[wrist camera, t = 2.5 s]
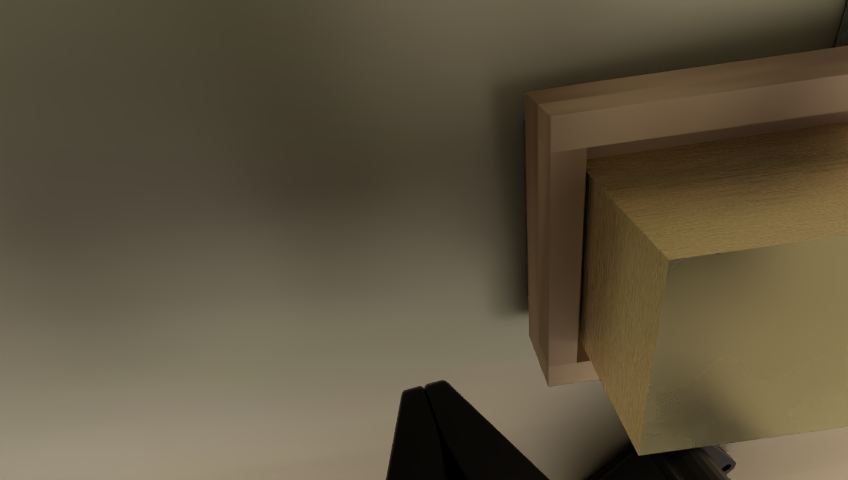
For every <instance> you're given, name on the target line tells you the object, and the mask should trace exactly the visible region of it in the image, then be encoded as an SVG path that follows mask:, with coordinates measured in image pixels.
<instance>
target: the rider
mask: <svg viewBox="0 0 848 480" xmlns="http://www.w3.org/2000/svg"><path fill="white" fill-rule="evenodd" d="M578 337H579V339H580V341H581V343H582V345H583V347H584V349H585V351H586V353H587V355H588V357H589V359H590V361H591V363H592V365H593V367H594V369H595V371H596V373H597V375H598V377H599V379H600V381H601V383H602V385H603V387H604V389H605V391H606V393H607V395H608V397H609V399H610V400H611V402H612V404H613V406H614V408H615V410H616V412H617V414H618V416H619V418H620V420H621V422H622V424H623V426H624V428H625V430H626V432H627V434H628V436H629V438H630V440H631V442H632V444H633V446H634V448H635V450H636V452H637V454H638V456H640V455H647V454H654V453H661V452H669V451H676V450H683V449H690V448H697V447H705V446H712V445H719V444H726V443H733V442H740V441H748V440H755V439H762V438H769V437H776V436H784V435H791V434H798V433H805V432H812V431H820V430H827V429H834V428H841V427H848V122H843V123H836V124H829V125H822V126H815V127H808V128H801V129H794V130H787V131H780V132H773V133H766V134H759V135H752V136H745V137H738V138H730V139H723V140H716V141H709V142H702V143H695V144H688V145H681V146H674V147H667V148H660V149H653V150H646V151H639V152H632V153H625V154H618V155H611V156H603V157H596V158H589V159H586V180H585V201H584V221H583V242H582V263H581V284H580V304H579V325H578Z"/></svg>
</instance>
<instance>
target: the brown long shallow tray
mask: <svg viewBox="0 0 848 480" xmlns="http://www.w3.org/2000/svg"><path fill="white" fill-rule="evenodd" d="M843 122H848V46H842V47H835V48H828V49H821V50H814V51H807V52H800V53H793V54H786V55H779V56H772V57H765V58H758V59H751V60H744V61H736V62H729V63H722V64H715V65H708V66H701V67H694V68H687V69H680V70H673V71H666V72H659V73H652V74H645V75H638V76H631V77H624V78H617V79H610V80H603V81H596V82H589V83H582V84H575V85H568V86H561V87H554V88H547V89H540V90H533V91H526V92H525V130H526V184H527V238H528V292H529V337H530V339H531V342H532V344H533V347H534V350H535V352H536V355H537V358H538V360H539V363H540V366H541V368H542V371H543V374H544V376H545V379H546V381H547V384H548V387H550V386H557V385H564V384H571V383H578V382H585V381H593V380H600V379H599V377H598V375H597V373H596V371H595V369H594V367H593V365H592V363H591V361H590V359H589V357H588V355H587V353H586V351H585V349H584V347H583V345H582V343H581V341H580V339H579V337H578V325H579V304H580V284H581V263H582V242H583V221H584V201H585V180H586V159H589V158H596V157H603V156H611V155H618V154H625V153H632V152H639V151H646V150H653V149H660V148H667V147H674V146H681V145H688V144H695V143H702V142H709V141H716V140H723V139H730V138H738V137H745V136H752V135H759V134H766V133H773V132H780V131H787V130H794V129H801V128H808V127H815V126H822V125H829V124H836V123H843Z"/></svg>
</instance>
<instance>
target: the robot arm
mask: <svg viewBox="0 0 848 480" xmlns="http://www.w3.org/2000/svg"><path fill="white" fill-rule="evenodd" d="M735 465H736V463H735V461H734V460H733V459H732V458H731V457H730V456H729V455H728V454H727V453H726V452H724V451H723V450H722V449H720V448H719V447H717V446H716V445H712V446H705V447H697V448H690V449H683V450H676V451H669V452H661V453H654V454H647V455H640V456H638V454H637V452H636V450H635V448H634V446H633V445H631V446H630V447H629V448H628V449H627V450H625V451H624V452H623V453H622V454H621V455H619V456H618V457H617V458H616V459H615V460H613V461H612V462H611V463H610V464H609V465H607V466H606V467H605V468H604V469H603V470H601V471H600V472H599V473H598V474H597V475H595V476H594V477H593V478H592V479H591V480H730V479H729V478H728V477H727V475H726V474H727V473H729V472H730V471H731V470H732V469H733V468H734V467H735ZM386 480H550V479H548V478H547V477H546V476H545V475H544V474H543V473H542V472H541V471H540V470H539V469H538V468H537V467H536V466H535V465H534V464H533V463H532V462H531V461H530V460H528V459H527V458H526V457H525V456H524V455H523V454H522V453H521V452H520V451H519V450H518V449H517V448H516V447H515V446H514V445H513V444H512V443H511V442H510V441H509V440H507V439H506V438H505V437H504V436H503V435H502V434H501V433H500V432H499V431H498V430H497V429H496V428H495V427H494V426H493V425H492V424H491V423H490V422H489V421H488V420H486V419H485V418H484V417H483V416H482V415H481V414H480V413H479V412H478V411H477V410H476V409H475V408H474V407H473V406H472V405H471V404H470V403H469V402H468V401H467V400H465V399H464V398H463V397H462V396H461V395H460V394H459V393H458V392H457V391H456V390H455V389H454V388H453V387H452V386H451V385H450V384H449V383H447V382H446V381H444V380H441V381H437V382H433V383H429V384H427V385H426V386H425V387H424V388H423V387H422V386H418V387H415V388H411V389H407V390H404V391H403V393H402V395H401V401H400V406H399V412H398V417H397V422H396V428H395V433H394V439H393V444H392V450H391V455H390V461H389V466H388V472H387V477H386Z"/></svg>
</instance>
